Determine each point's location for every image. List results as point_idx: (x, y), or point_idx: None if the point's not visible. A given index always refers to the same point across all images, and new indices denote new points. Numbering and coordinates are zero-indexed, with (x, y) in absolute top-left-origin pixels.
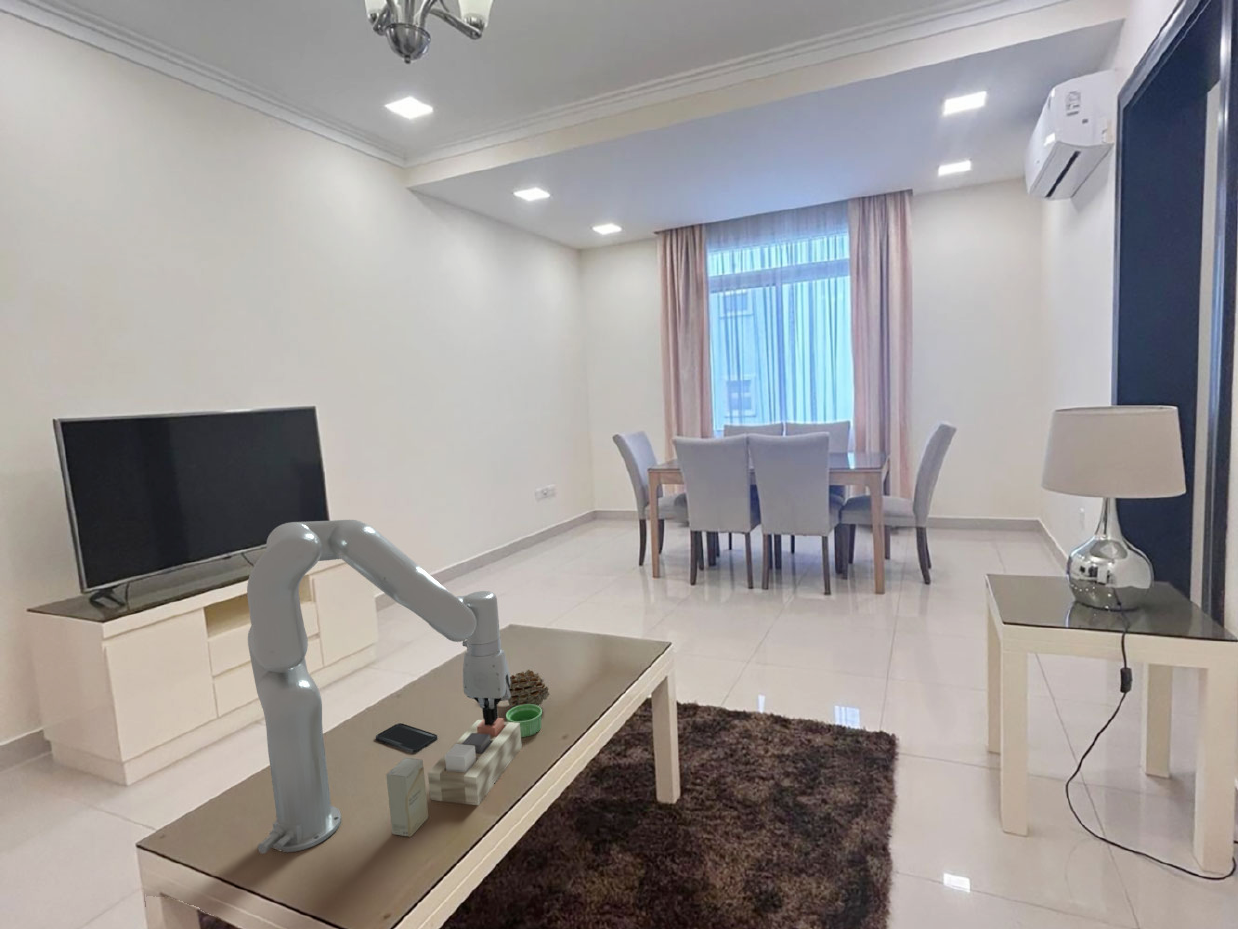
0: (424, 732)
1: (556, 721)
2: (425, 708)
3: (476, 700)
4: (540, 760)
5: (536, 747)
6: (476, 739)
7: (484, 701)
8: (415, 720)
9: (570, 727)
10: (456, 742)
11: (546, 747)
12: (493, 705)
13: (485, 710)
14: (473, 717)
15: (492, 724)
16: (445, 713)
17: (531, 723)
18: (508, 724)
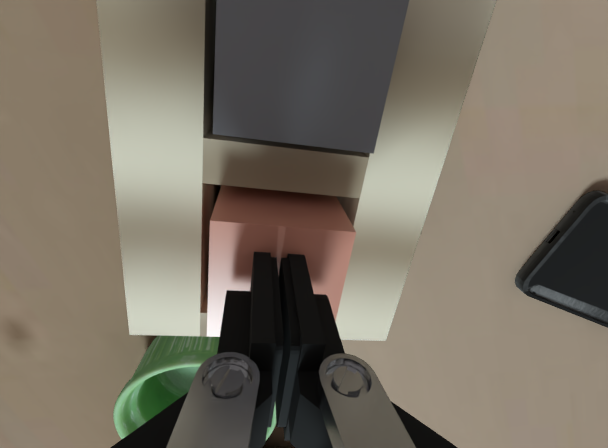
0: (568, 305)
1: (112, 407)
2: (567, 414)
3: (436, 439)
4: (19, 166)
5: (99, 259)
6: (302, 41)
7: (330, 436)
8: (593, 363)
9: (33, 384)
10: (459, 105)
11: (53, 262)
12: (196, 391)
13: (301, 334)
14: (415, 394)
15: (251, 265)
16: (506, 401)
17: (142, 368)
18: (191, 316)
